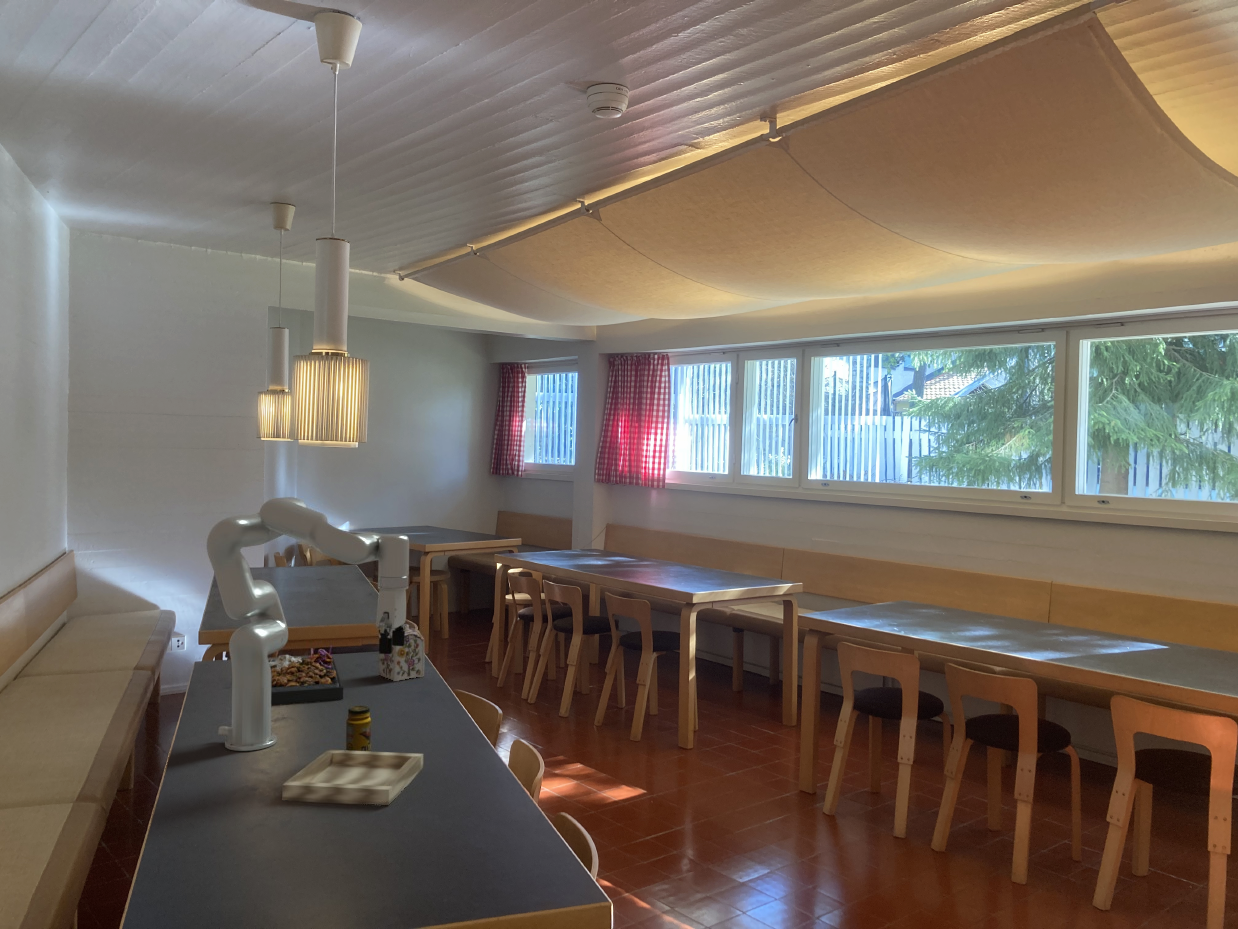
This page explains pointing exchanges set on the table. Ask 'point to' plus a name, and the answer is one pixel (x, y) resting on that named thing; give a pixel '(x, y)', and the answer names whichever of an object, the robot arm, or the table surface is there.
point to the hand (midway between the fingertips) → (392, 649)
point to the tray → (353, 777)
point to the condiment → (358, 729)
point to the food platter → (305, 679)
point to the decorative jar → (404, 658)
